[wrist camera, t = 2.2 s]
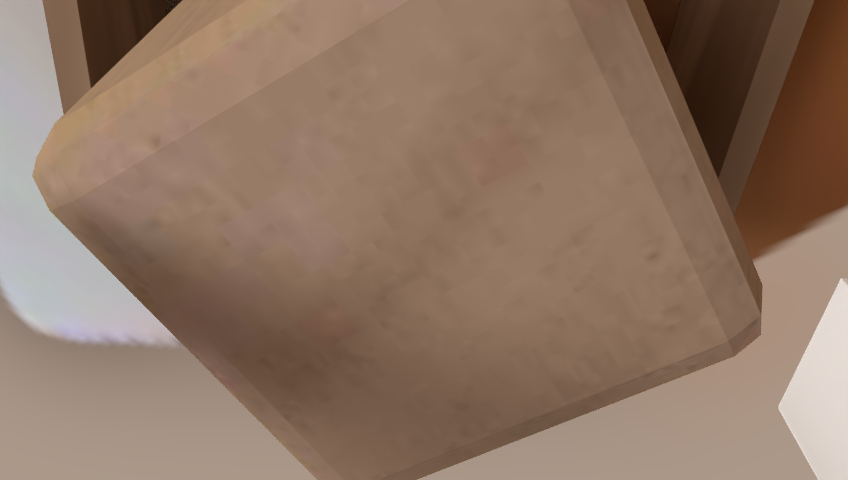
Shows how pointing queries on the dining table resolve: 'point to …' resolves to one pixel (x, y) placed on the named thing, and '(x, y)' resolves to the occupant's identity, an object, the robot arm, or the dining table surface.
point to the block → (409, 217)
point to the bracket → (687, 53)
